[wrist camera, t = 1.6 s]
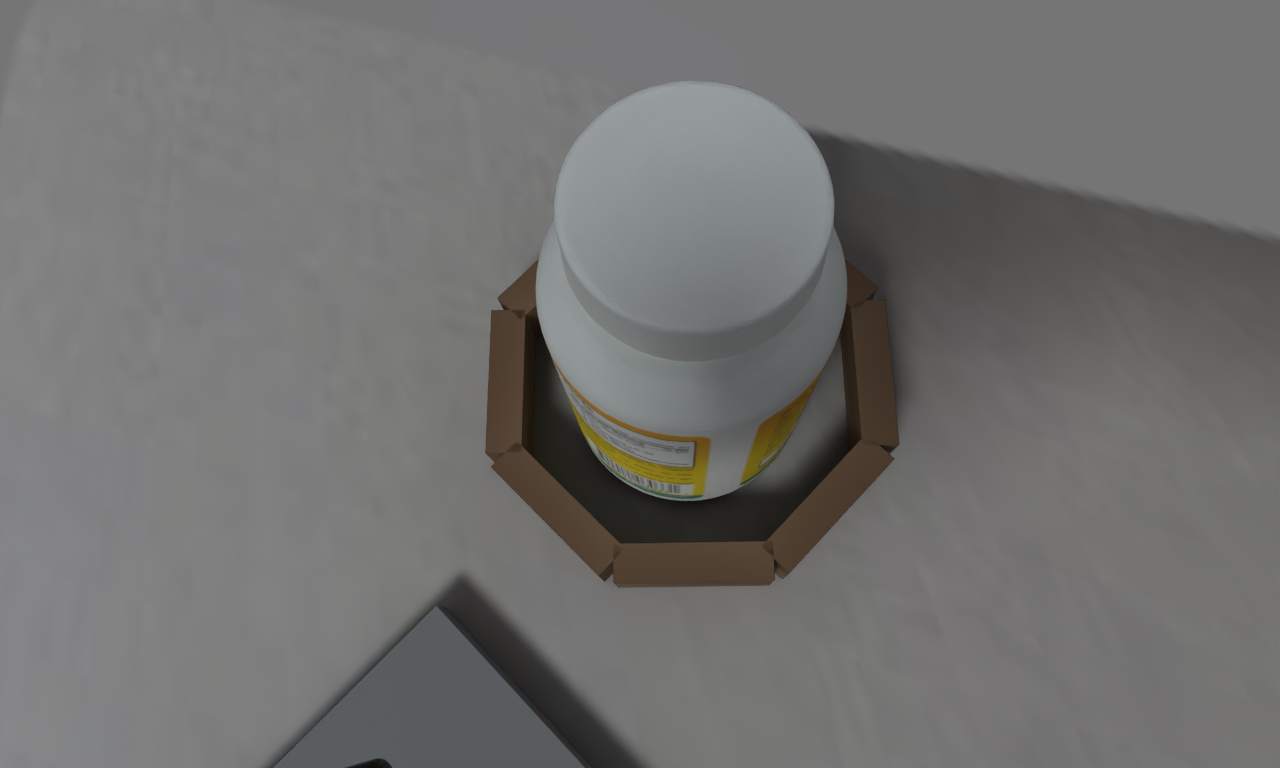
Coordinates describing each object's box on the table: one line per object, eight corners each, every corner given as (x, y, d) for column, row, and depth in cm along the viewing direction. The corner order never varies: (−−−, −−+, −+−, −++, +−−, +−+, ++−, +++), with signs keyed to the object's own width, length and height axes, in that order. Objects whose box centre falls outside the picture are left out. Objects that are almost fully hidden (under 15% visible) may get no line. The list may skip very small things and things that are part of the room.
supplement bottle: (608, 530, 21) (546, 428, 12) (554, 323, 23) (464, 90, 13) (830, 469, 21) (940, 321, 12) (761, 267, 23) (812, 0, 14)
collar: (958, 387, 22) (977, 367, 20) (695, 673, 20) (696, 674, 18) (681, 158, 24) (682, 126, 22) (425, 399, 22) (406, 381, 21)
